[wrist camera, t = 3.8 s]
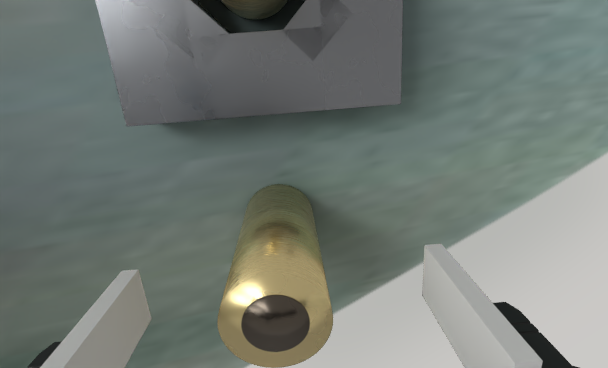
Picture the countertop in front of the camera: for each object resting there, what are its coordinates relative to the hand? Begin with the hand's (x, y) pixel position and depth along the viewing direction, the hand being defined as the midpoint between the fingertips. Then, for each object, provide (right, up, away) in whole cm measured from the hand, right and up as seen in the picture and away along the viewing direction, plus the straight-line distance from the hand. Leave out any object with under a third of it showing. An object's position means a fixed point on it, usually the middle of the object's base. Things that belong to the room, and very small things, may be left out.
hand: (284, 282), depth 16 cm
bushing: (-1, +2, +7) cm, 7 cm away
